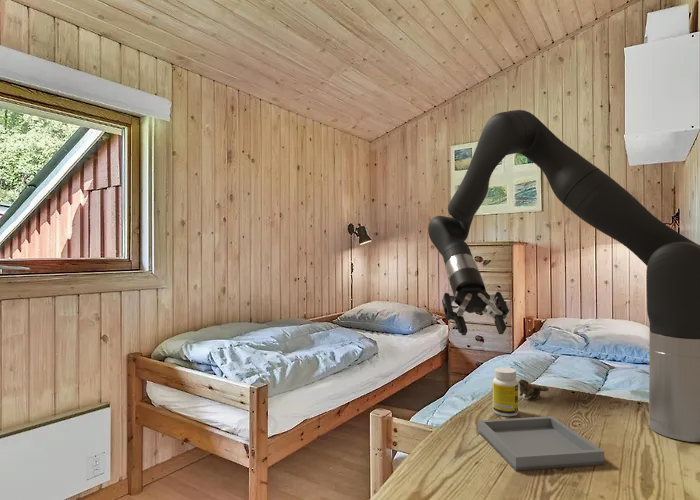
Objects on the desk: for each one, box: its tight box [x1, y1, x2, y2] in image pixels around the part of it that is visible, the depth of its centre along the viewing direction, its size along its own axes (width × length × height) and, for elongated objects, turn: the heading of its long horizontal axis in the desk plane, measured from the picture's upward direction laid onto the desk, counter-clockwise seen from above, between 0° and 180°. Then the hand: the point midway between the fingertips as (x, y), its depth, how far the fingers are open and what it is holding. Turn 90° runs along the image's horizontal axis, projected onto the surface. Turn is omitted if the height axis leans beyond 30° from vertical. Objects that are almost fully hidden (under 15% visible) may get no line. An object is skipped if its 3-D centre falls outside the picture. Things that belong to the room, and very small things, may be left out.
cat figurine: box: [518, 378, 549, 400], centre depth 98 cm, size 3×8×4 cm, turn 112°
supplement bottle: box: [492, 367, 519, 417], centre depth 90 cm, size 5×5×8 cm
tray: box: [477, 415, 605, 472], centre depth 75 cm, size 14×14×2 cm
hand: (483, 332), depth 100 cm, fingers open, 8 cm apart
